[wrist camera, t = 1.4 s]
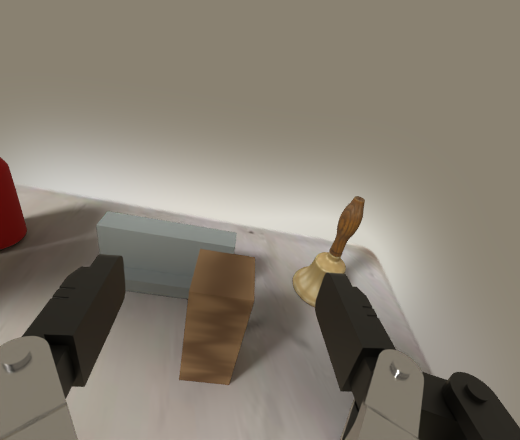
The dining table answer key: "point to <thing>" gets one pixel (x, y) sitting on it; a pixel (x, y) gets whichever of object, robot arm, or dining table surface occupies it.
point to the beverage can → (9, 210)
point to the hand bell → (329, 254)
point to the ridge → (158, 251)
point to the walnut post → (216, 316)
